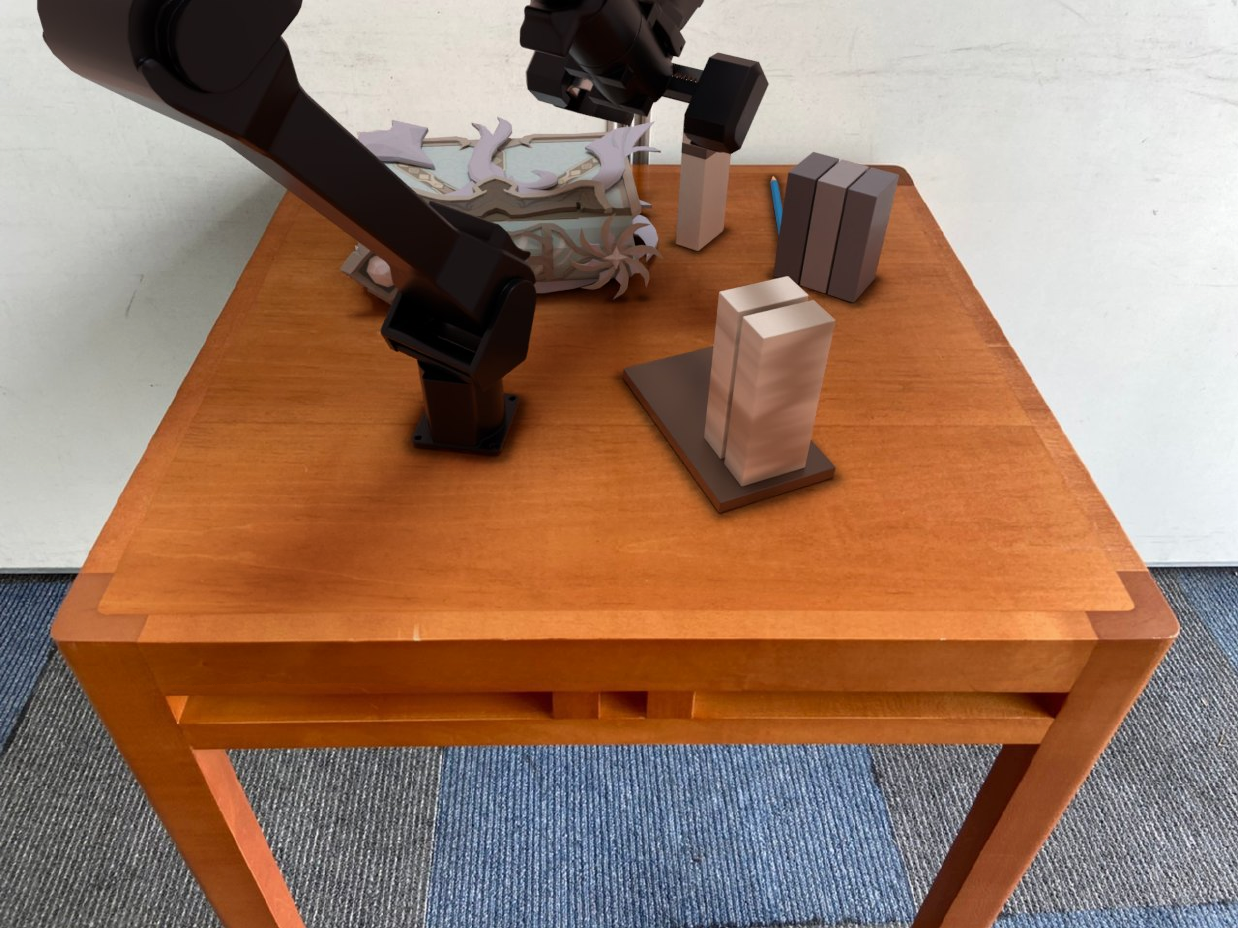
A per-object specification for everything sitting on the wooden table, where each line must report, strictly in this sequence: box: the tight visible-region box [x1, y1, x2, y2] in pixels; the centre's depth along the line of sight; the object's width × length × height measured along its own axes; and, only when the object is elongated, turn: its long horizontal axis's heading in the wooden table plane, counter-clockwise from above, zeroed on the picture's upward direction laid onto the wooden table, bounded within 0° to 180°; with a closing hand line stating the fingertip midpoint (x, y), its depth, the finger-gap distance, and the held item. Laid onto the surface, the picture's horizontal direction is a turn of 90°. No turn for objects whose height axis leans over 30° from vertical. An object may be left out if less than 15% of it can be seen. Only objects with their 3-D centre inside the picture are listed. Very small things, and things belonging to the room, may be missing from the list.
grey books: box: [772, 151, 900, 304], centre depth 79 cm, size 5×8×10 cm, turn 56°
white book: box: [675, 123, 732, 252], centre depth 84 cm, size 5×2×12 cm, turn 146°
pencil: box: [769, 175, 783, 235], centre depth 91 cm, size 1×17×1 cm, turn 177°
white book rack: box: [622, 276, 837, 514], centre depth 62 cm, size 9×16×13 cm, turn 23°
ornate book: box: [339, 116, 664, 306], centre depth 83 cm, size 23×10×30 cm
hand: (676, 132), depth 76 cm, fingers open, 9 cm apart
